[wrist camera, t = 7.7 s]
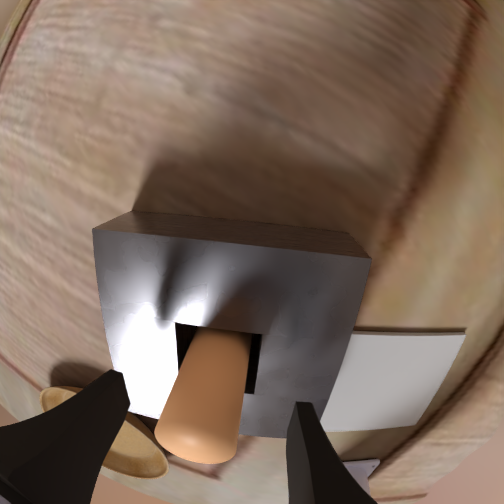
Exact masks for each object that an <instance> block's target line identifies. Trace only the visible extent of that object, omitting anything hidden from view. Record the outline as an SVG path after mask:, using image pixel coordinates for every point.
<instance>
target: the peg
mask: <svg viewBox="0 0 504 504" xmlns="http://www.w3.org/2000/svg"><path fill="white" fill-rule="evenodd" d="M251 339H252V333H248V332H240V331H232V330H224V329H217V328H210V327H203V326H198V328H197V330H196V332H195V334H194V337H193V339H192V341H191V344H190V346H189V349H188V351H187V353H186V356H185V358H184V360H183V363H182V365H181V367H180V370H179V372H178V374H177V377H176V379H175V382H174V384H173V386H172V389H171V391H170V394H169V396H168V398H167V401H166V403H165V406H164V408H163V411H162V413H161V415H160V418H159V420H158V423H157V425H156V428H155V431H154V434H155V437H156V439H157V441H158V442H159V443H160V445H161V446H163V447H164V448H165V449H166V450H168V451H169V452H171V453H172V454H174V455H176V456H178V457H180V458H183V459H186V460H189V461H193V462H198V463H206V464H214V463H221V462H225V461H228V460H229V459H231V458H232V457H233V456H234V455H235V453H236V448H237V441H238V434H239V427H240V420H241V413H242V406H243V398H244V391H245V384H246V377H247V369H248V362H249V354H250V347H251Z"/></svg>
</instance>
